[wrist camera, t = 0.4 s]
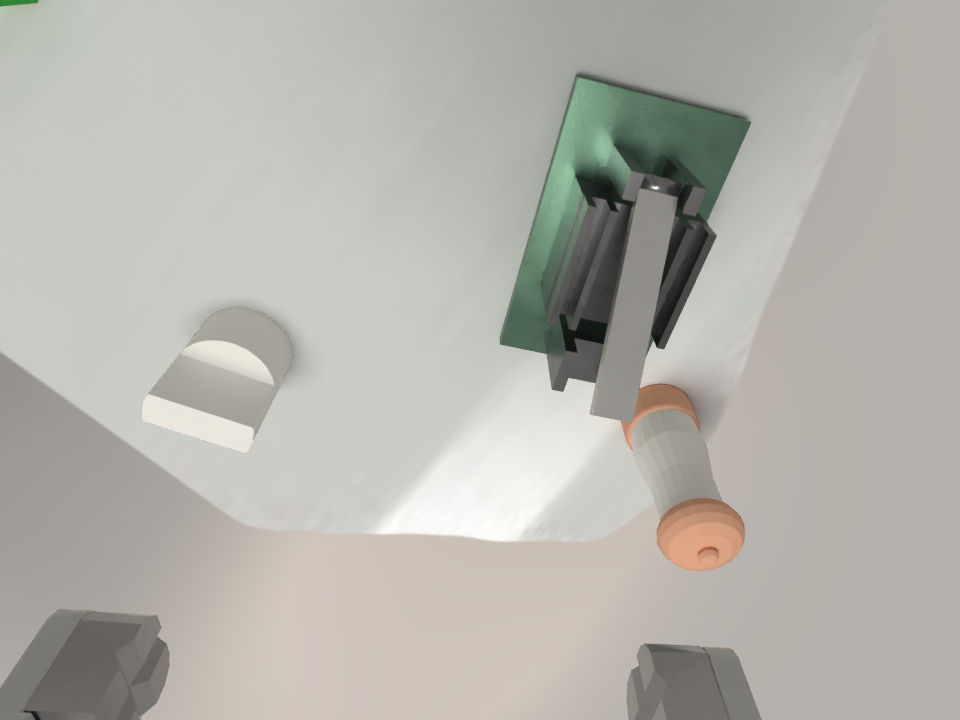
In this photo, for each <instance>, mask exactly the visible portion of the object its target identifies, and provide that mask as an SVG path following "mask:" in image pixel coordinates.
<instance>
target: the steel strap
mask: <svg viewBox="0 0 960 720" xmlns="http://www.w3.org/2000/svg"><path fill="white" fill-rule="evenodd" d="M644 174H645V176H644V178H643V181H642V184H641V186H640V189H639V192H638V194H637V197H636V200H635V202H633V203H632V208H631V213H630V218H629V223H628V228H627V233H626V238H625V243H624V248H623V252H622V257H621V262H620V267H619V272H618V277H617V282H616V287H615V292H614V297H613V302H612V306H611V311H610V316H609V321H608V326H607V331H606V336H605V341H604V346H603V351H602V356H601V361H600V365H599V370H598V375H597V380H596V385H595V390H594V395H593V400H592V405H591V410H590V414H591V415H595V416H600V417H605V418H610V419H616V420H621V421H626V422H631V423H632V422H633V417H634V412H635V407H636V402H637V398H638V393H639V388H640V383H641V378H642V373H643V368H644V363H645V358H646V353H647V349H648V344H649V339H650V334H651V329H652V324H653V319H654V314H655V309H656V304H657V299H658V295H659V290H660V285H661V280H662V275H663V270H664V265H665V260H666V255H667V250H668V245H669V241H670V236H671V231H672V226H673V221H674V216H675V211H676V206H677V201H678V197H679V195H680V193H681V189H682V182H681V181H677V180H673V179H669V178H665V177H661V176H657V175H653V174H649V173H645V172H644Z"/></svg>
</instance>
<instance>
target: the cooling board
mask: <svg viewBox="0 0 960 720" xmlns="http://www.w3.org/2000/svg"><path fill="white" fill-rule="evenodd" d="M750 124H751V122H750V121H748V120H747V119H744V118H740V117H736V116H732V115H728V114H725V113H721V112H717V111H713V110H709V109H705V108H701V107H698V106H694V105H690V104H686V103H682V102H678V101H675V100H671V99H667V98H663V97H659V96H655V95H651V94H648V93H644V92H640V91H636V90H632V89H628V88H625V87H621V86H617V85H613V84H609V83H605V82H601V81H598V80H594V79H590V78H586V77H582V76H578V75H576V77H575V81H574V84H573V88H572V91H571V94H570V98H569V101H568V105H567V108H566V112H565V115H564V119H563V122H562V125H561V129H560V132H559V136H558V139H557V143H556V146H555V150H554V153H553V156H552V160H551V163H550V167H549V170H548V174H547V177H546V180H545V184H544V187H543V191H542V194H541V198H540V201H539V205H538V208H537V211H536V215H535V218H534V222H533V225H532V229H531V232H530V236H529V239H528V242H527V246H526V249H525V253H524V256H523V260H522V263H521V266H520V270H519V273H518V277H517V280H516V284H515V287H514V291H513V294H512V297H511V301H510V304H509V308H508V311H507V315H506V318H505V322H504V325H503V328H502V332H501V335H500V344H501V345H506V346H511V347H516V348H521V349H525V350H530V351H535V352H540V353H545V354H547V360H548V366H549V373H550V380H551V387H552V390H557V391H562V392H563V391H564V388H565V386H566V383H567V380H568V378H573V379H578V380H583V381H588V382H593V383H596V380H597V375H598V370H599V365H600V361H601V356H602V351H603V346H604V341H605V336H606V331H607V326H608V321H609V316H610V311H611V306H612V302H613V297H614V292H615V287H616V282H617V277H618V272H619V267H620V262H621V257H622V252H623V248H624V243H625V238H626V233H627V228H628V223H629V218H630V213H631V208H632V203H633V202H635V200H636V197H637V194H638V192H639V189H640V186H641V184H642V181H643V178H644V176H645V174H644V172H645V173H649V174H653V175H657V176H661V177H665V178H669V179H673V180H677V181H681V182H682V189H681V193H680V195H679V197H678V201H677V206H676V211H675V216H674V221H673V226H672V231H671V236H670V241H669V245H668V250H667V255H666V260H665V265H664V270H663V275H662V280H661V285H660V290H659V295H658V299H657V304H656V309H655V314H654V319H653V324H652V329H651V334H650V339H649V344H648V349H647V353H648V351H649V349H650V347H651V344H652V342H653V340H654V342H655V344H656V347H657V348H660V349H664V348H665V346H666V344H667V342H668V340H669V337H670V335H671V333H672V331H673V329H674V327H675V325H676V322H677V320H678V318H679V316H680V314H681V312H682V310H683V307H684V305H685V303H686V301H687V299H688V297H689V294H690V292H691V290H692V288H693V286H694V284H695V282H696V279H697V277H698V275H699V273H700V271H701V269H702V267H703V264H704V262H705V260H706V258H707V256H708V254H709V251H710V249H711V247H712V245H713V243H714V241H715V239H716V236H717V235H716V234H715V233H714V232H713V231H712V229H711V228H710V227H709V226H708V223H707V220H708V218H709V215H710V213H711V211H712V209H713V207H714V204H715V202H716V200H717V198H718V195H719V193H720V191H721V189H722V187H723V184H724V182H725V180H726V178H727V175H728V173H729V171H730V169H731V167H732V164H733V162H734V160H735V158H736V155H737V153H738V151H739V149H740V147H741V144H742V142H743V140H744V138H745V135H746V133H747V131H748V129H749V127H750ZM647 353H646V356H647Z"/></svg>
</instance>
